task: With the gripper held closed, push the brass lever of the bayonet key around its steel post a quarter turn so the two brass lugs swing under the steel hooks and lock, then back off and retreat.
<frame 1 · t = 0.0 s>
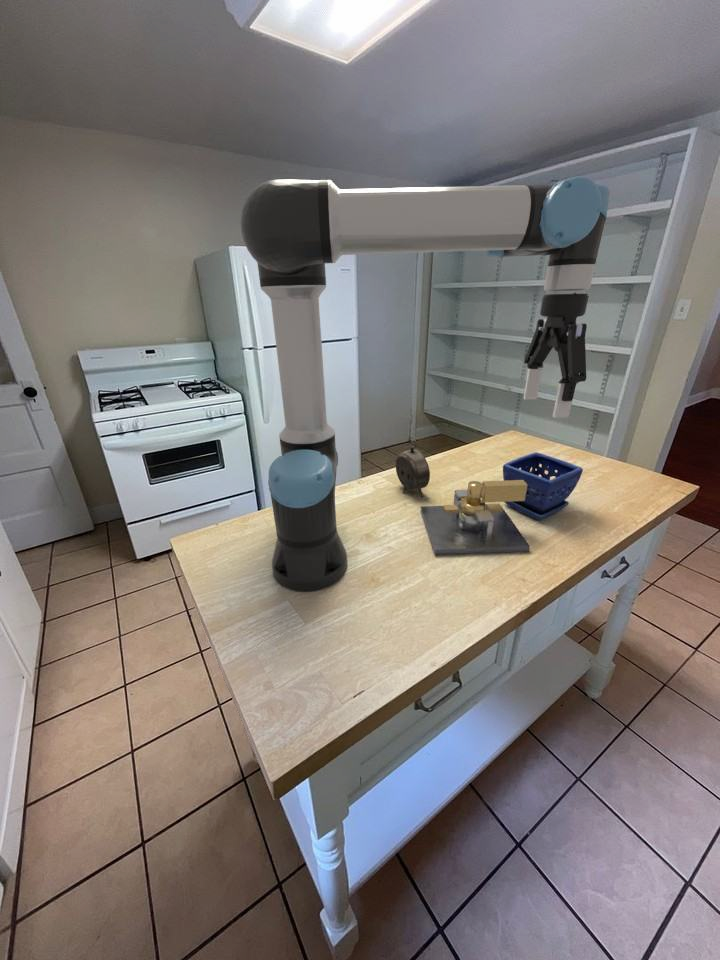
hand: (544, 407, 79), 28 cm above the table, fingers open, 13 cm apart
alarm clock: (410, 492, 107), on the table
flower pot: (533, 508, 97), on the table
wing key: (484, 497, 85), point 9 cm above the table, hinge at 0.0°
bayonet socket: (469, 530, 89), on the table
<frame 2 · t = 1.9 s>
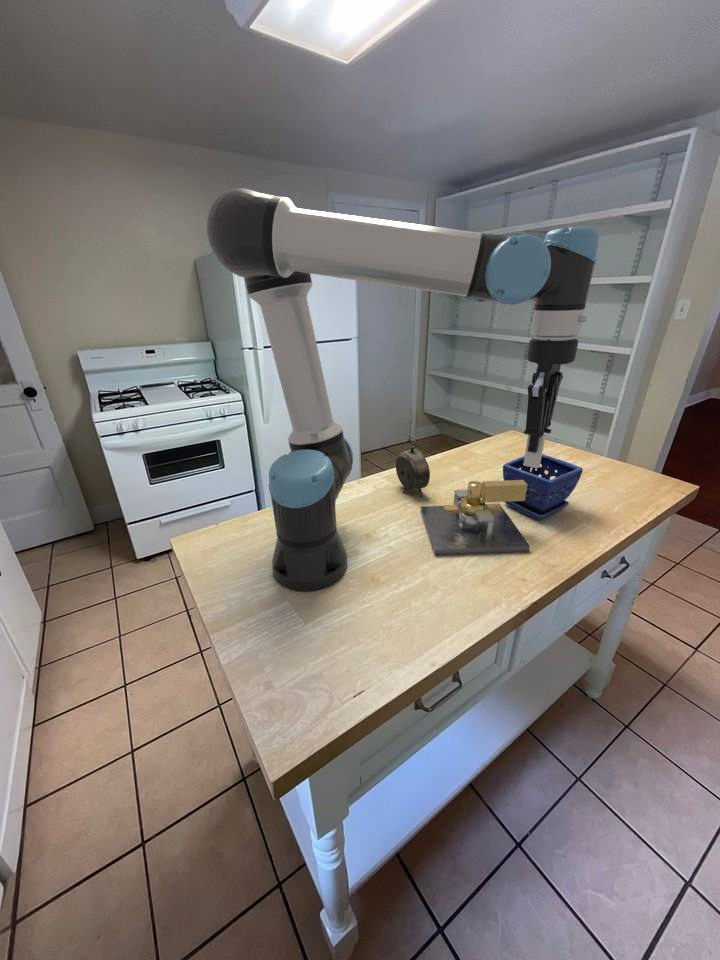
hand: (531, 465, 75), 19 cm above the table, fingers closed
nothing on the table moved.
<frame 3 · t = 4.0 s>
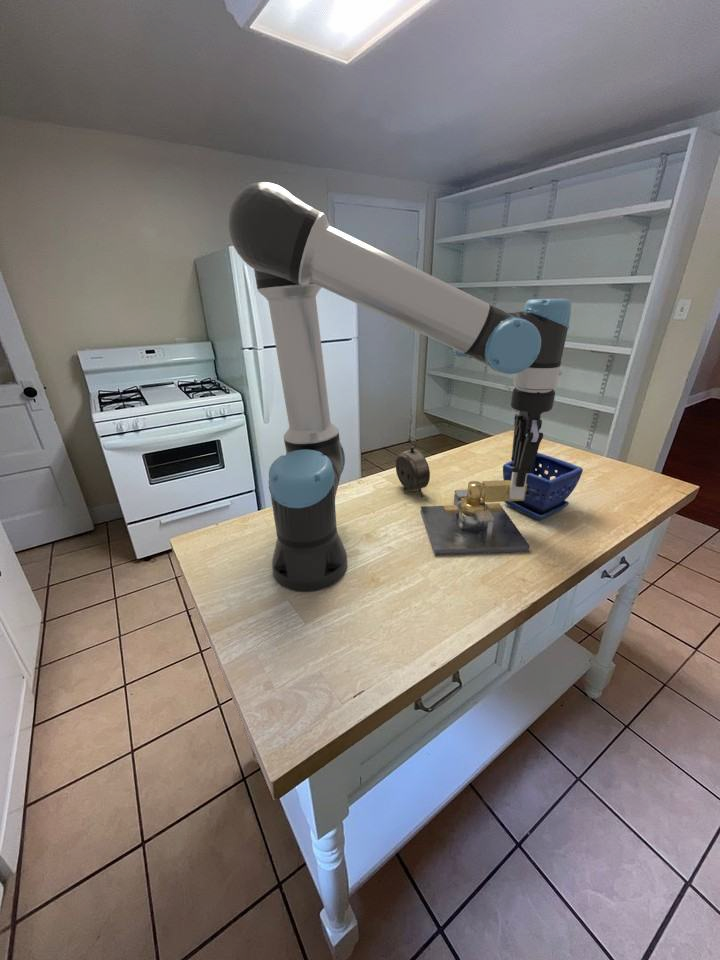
hand: (515, 497, 83), 9 cm above the table, fingers closed
wing key: (483, 497, 85), point 9 cm above the table, hinge at 1.0°, touching gripper
everything else where it was.
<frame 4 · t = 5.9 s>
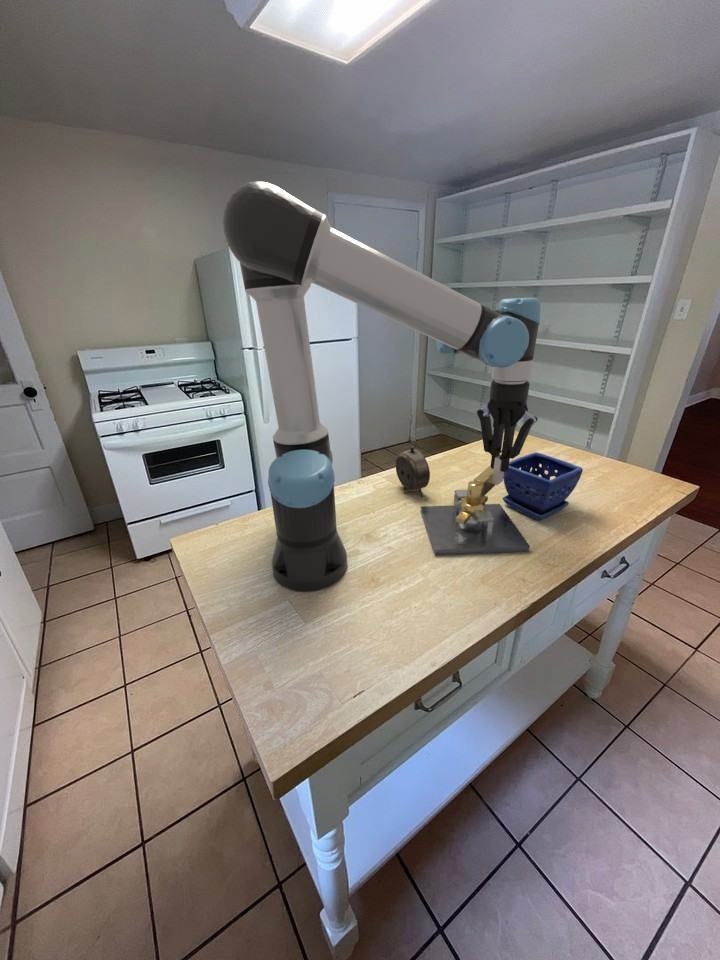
hand: (497, 482, 89), 10 cm above the table, fingers closed
wing key: (477, 493, 87), point 9 cm above the table, hinge at 50.1°, touching gripper
everything else where it was.
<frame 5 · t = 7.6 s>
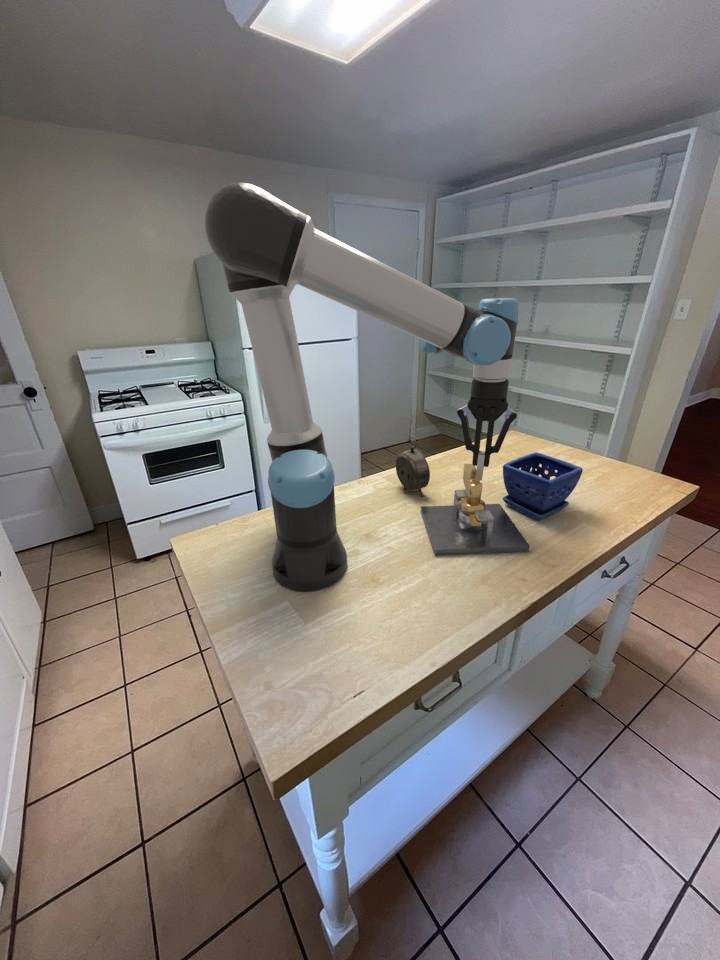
hand: (479, 477, 92), 10 cm above the table, fingers closed
wing key: (472, 492, 87), point 9 cm above the table, hinge at 80.7°, touching gripper
everything else where it was.
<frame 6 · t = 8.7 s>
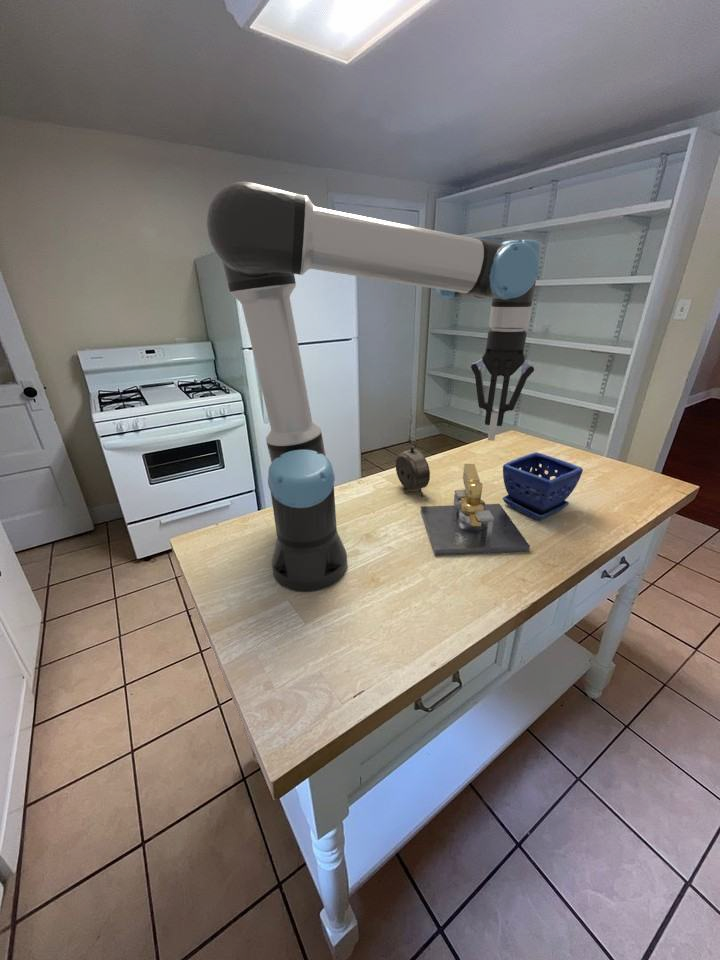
hand: (491, 438, 88), 19 cm above the table, fingers closed
wing key: (472, 492, 87), point 9 cm above the table, hinge at 80.7°
everything else where it was.
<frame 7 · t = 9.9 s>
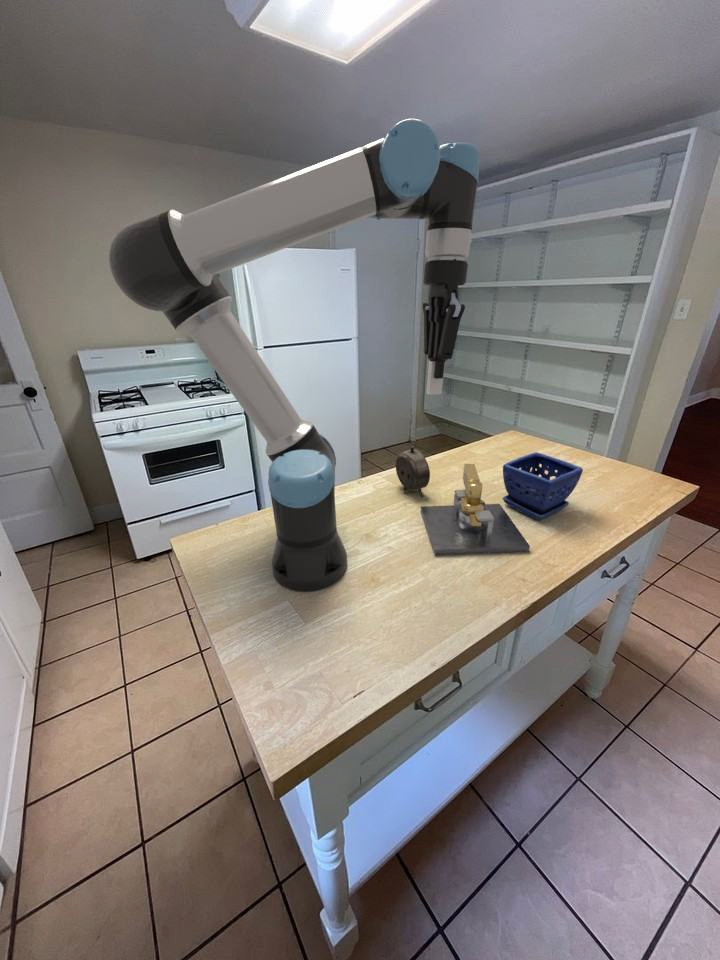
hand: (433, 393, 78), 31 cm above the table, fingers closed
nothing on the table moved.
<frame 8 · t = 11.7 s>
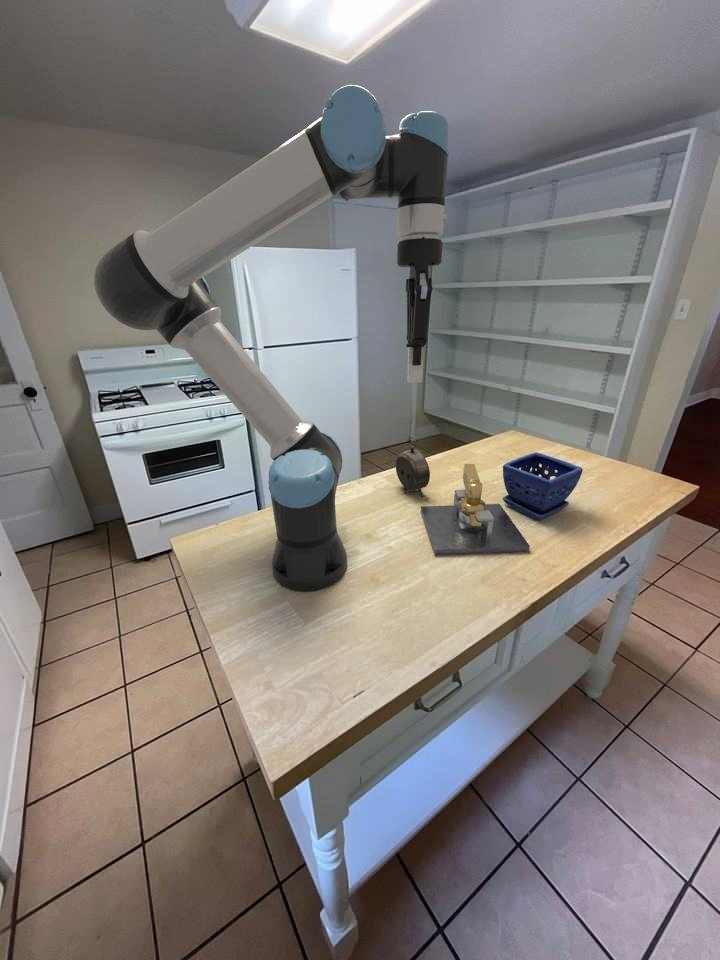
hand: (414, 381, 74), 34 cm above the table, fingers closed
nothing on the table moved.
at the end: wing key at +81° (first picture: +0°); the gripper is holding nothing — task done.
